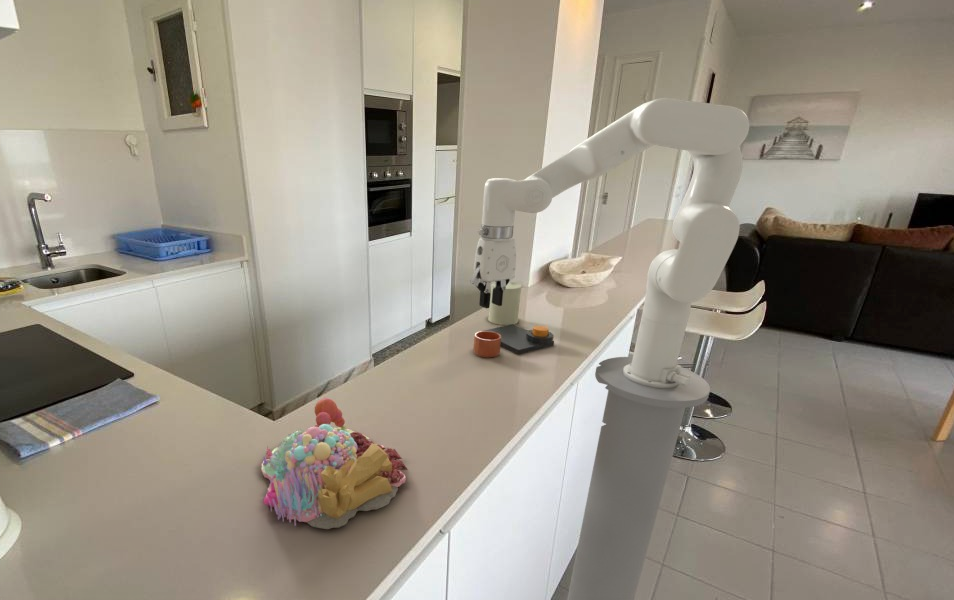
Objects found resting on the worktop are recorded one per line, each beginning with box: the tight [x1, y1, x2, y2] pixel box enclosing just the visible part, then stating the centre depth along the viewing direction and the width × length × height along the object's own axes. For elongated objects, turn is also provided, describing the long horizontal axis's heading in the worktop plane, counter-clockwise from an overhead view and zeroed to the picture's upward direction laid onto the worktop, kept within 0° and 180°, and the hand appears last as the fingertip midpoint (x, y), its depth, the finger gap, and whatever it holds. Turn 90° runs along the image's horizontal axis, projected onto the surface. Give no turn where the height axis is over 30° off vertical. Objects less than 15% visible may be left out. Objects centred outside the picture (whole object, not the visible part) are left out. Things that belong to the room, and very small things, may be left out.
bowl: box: [472, 330, 501, 358], centre depth 125 cm, size 7×7×5 cm
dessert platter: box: [260, 397, 408, 530], centre depth 77 cm, size 25×24×9 cm
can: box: [487, 281, 523, 326], centre depth 149 cm, size 9×9×12 cm
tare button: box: [532, 325, 549, 337], centre depth 131 cm, size 4×4×2 cm
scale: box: [478, 324, 555, 356], centre depth 134 cm, size 16×14×3 cm
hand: (490, 305), depth 121 cm, fingers open, 3 cm apart
